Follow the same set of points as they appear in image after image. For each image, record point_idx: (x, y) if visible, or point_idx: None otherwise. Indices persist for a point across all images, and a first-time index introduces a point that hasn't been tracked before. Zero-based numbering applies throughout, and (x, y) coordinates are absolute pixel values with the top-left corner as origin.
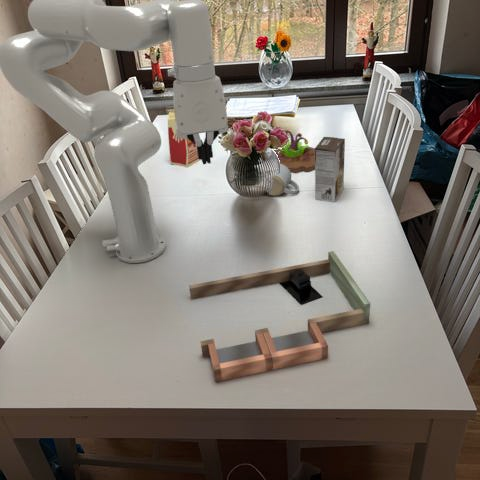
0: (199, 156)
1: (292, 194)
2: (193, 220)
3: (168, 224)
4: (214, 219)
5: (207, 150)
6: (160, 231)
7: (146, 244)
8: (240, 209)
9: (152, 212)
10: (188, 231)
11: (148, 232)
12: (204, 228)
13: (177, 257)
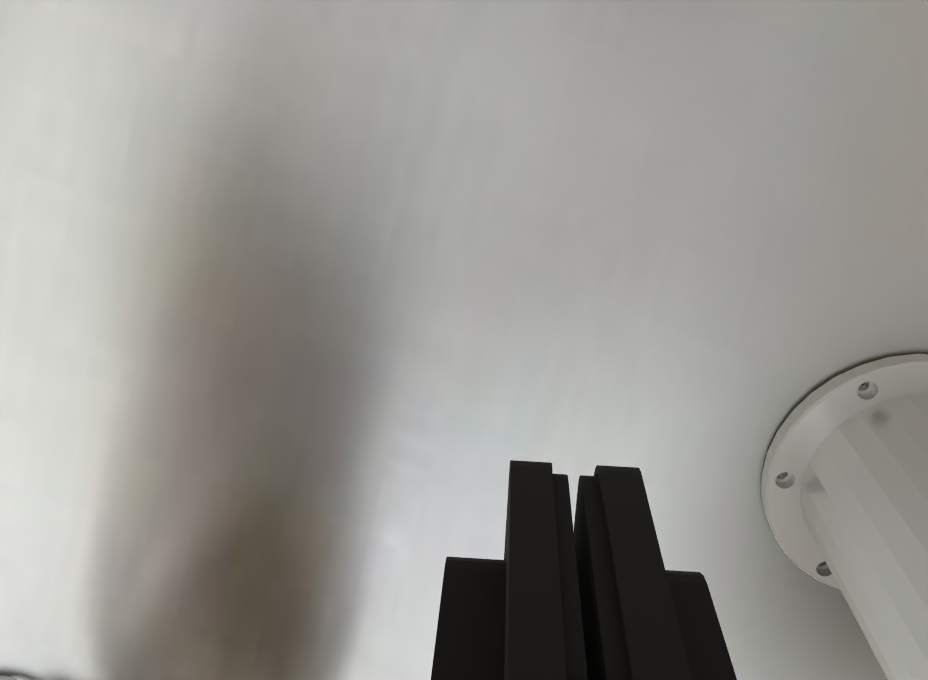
0: (697, 597)
1: (4, 677)
2: None
3: None
4: None
5: (549, 612)
6: (750, 603)
7: (913, 430)
8: (297, 648)
9: (889, 599)
10: None
11: (914, 478)
12: None
13: (729, 336)
